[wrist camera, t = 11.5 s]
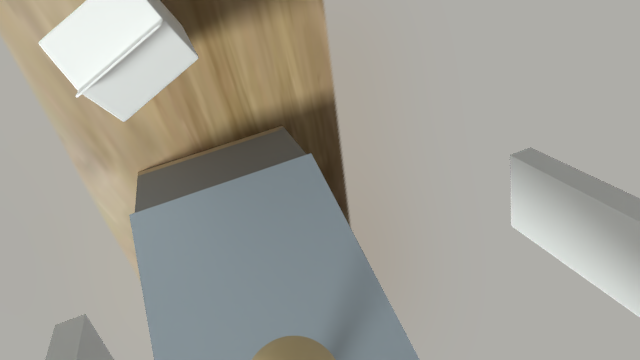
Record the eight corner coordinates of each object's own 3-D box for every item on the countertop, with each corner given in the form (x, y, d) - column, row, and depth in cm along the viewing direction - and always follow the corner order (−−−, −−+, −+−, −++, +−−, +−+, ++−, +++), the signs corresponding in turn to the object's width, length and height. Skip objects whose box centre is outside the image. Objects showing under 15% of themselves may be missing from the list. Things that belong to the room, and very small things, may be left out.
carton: (138, 172, 48) (134, 216, 39) (282, 125, 51) (309, 157, 42) (206, 322, 58) (215, 384, 49) (323, 276, 61) (351, 326, 52)
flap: (132, 218, 39) (72, 133, 30) (311, 157, 42) (302, 65, 33) (186, 527, 26) (107, 527, 17) (440, 405, 29) (477, 355, 20)
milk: (84, 14, 41) (17, 50, 21) (135, -31, 40) (114, -35, 21) (136, 67, 44) (119, 140, 24) (184, 26, 44) (204, 67, 24)
